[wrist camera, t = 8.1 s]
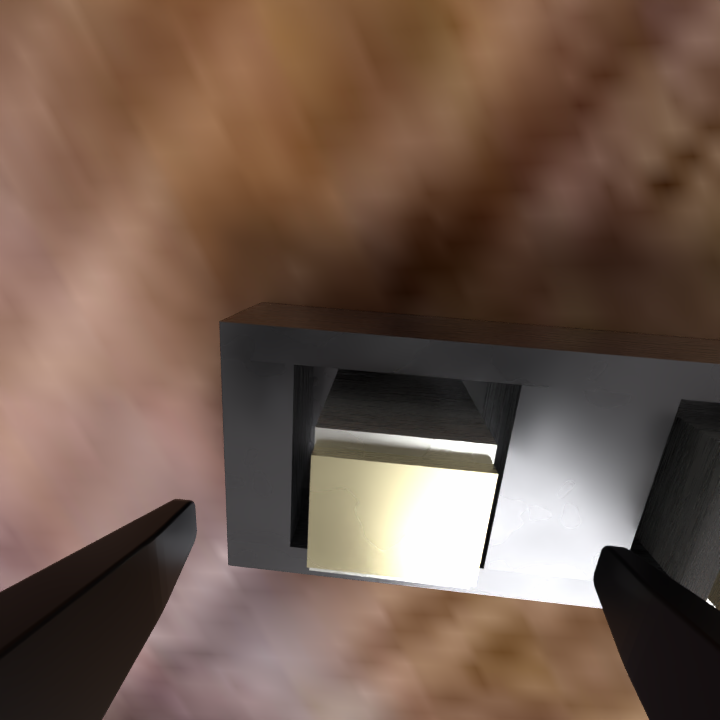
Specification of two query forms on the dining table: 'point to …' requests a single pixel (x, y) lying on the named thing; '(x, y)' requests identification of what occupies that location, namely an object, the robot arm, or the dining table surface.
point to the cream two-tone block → (400, 480)
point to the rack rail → (500, 413)
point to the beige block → (688, 502)
